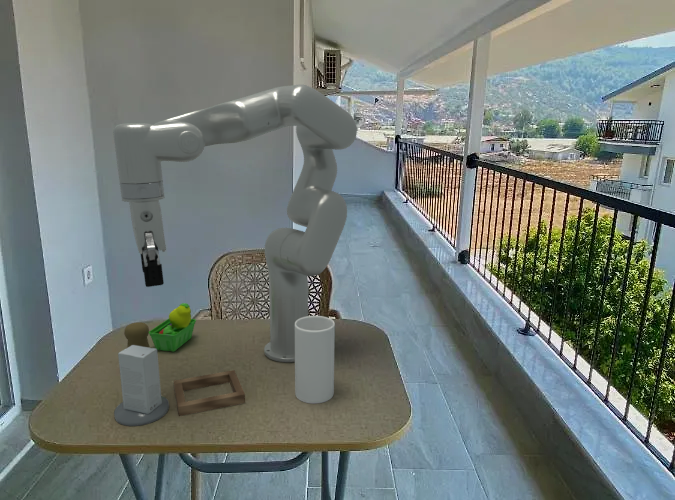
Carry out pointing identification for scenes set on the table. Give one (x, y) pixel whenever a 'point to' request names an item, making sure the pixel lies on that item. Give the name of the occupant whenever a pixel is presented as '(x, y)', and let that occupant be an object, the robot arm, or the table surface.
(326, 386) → the cup
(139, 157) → the robot arm
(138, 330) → the cork
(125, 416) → the slate coaster
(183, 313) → the fruit basket
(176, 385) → the walnut holder
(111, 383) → the table surface
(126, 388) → the skincare box
